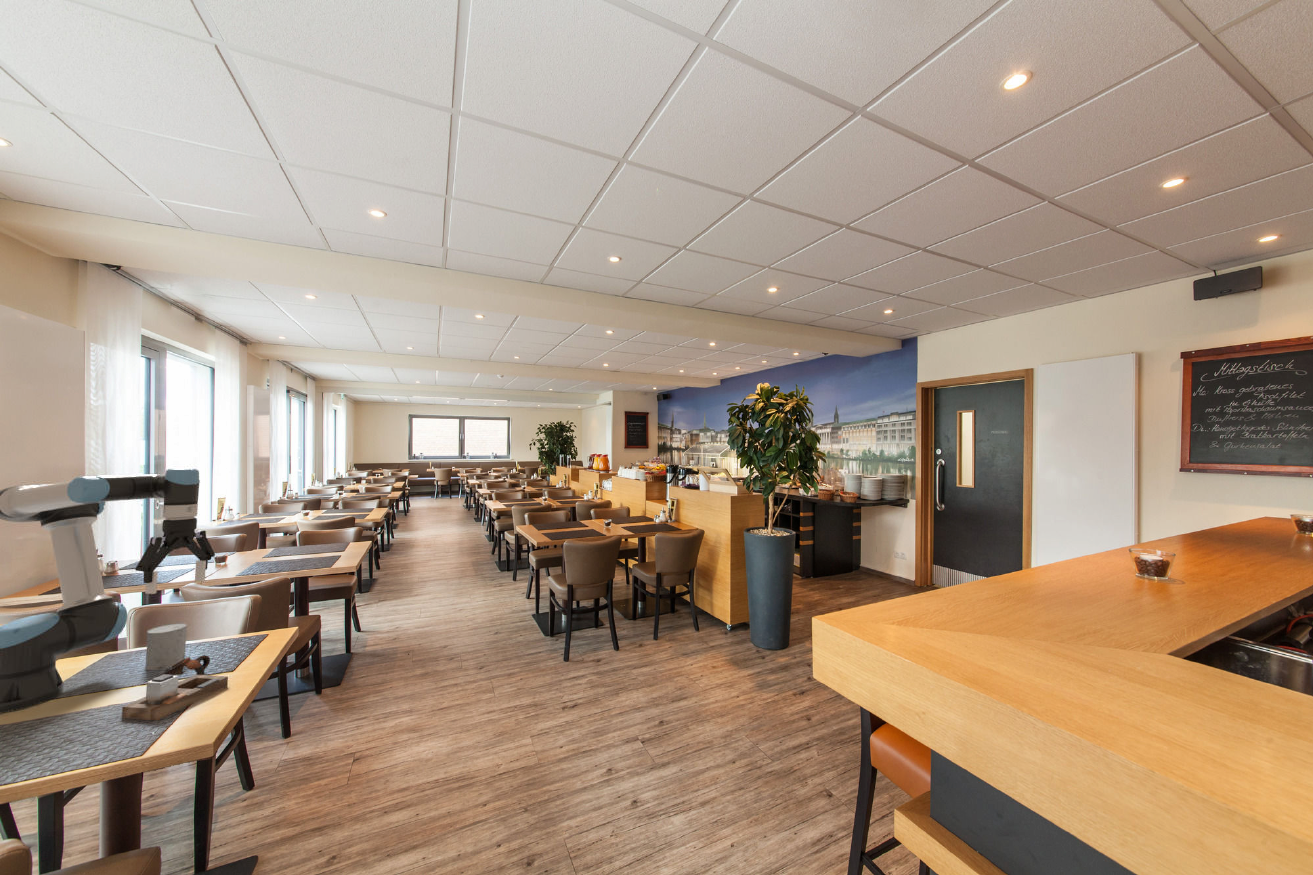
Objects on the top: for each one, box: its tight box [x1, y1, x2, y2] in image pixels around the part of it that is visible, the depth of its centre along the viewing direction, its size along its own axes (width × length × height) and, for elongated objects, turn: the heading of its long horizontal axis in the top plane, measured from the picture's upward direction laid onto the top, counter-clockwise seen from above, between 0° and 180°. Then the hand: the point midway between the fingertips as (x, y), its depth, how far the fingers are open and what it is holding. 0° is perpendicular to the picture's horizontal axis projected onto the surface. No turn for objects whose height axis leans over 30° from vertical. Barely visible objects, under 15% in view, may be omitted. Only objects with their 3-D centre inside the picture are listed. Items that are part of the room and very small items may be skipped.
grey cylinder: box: [144, 622, 188, 671], centre depth 161 cm, size 10×10×12 cm
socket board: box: [121, 674, 229, 721], centre depth 137 cm, size 11×19×3 cm, turn 175°
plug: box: [145, 674, 179, 705], centre depth 133 cm, size 4×4×9 cm
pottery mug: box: [160, 654, 211, 676], centre depth 150 cm, size 12×10×8 cm
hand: (176, 587), depth 144 cm, fingers open, 13 cm apart
